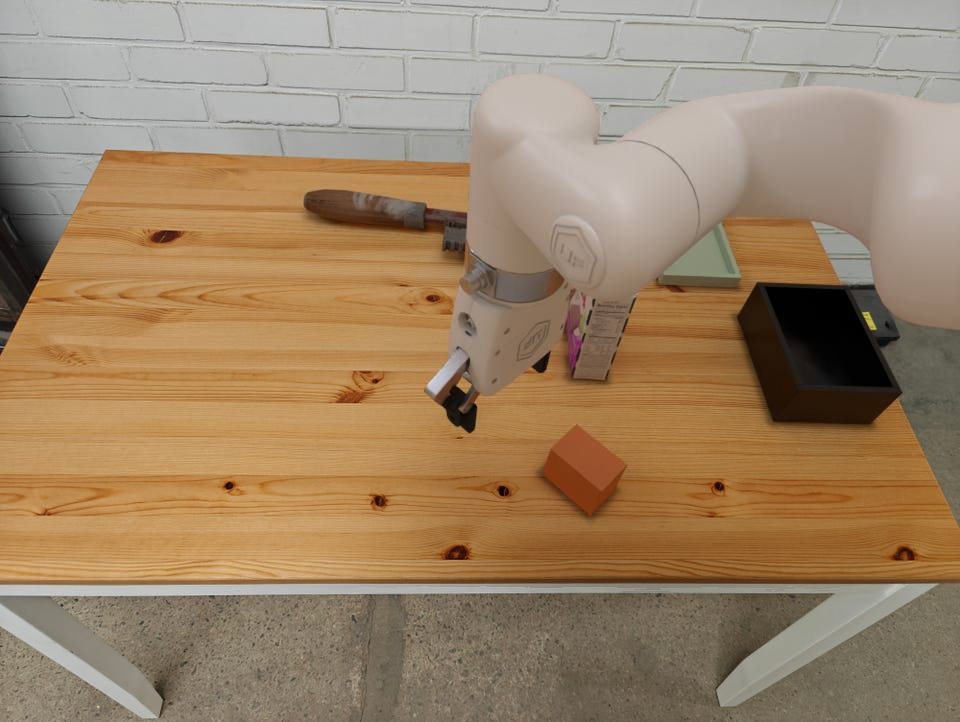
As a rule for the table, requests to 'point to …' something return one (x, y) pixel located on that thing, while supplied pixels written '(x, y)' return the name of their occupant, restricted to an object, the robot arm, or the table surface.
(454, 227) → the pipe wrench
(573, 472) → the orange brown rectangular block
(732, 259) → the shallow green tray
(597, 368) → the candy bar box
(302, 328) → the table surface
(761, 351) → the dark open storage bin
